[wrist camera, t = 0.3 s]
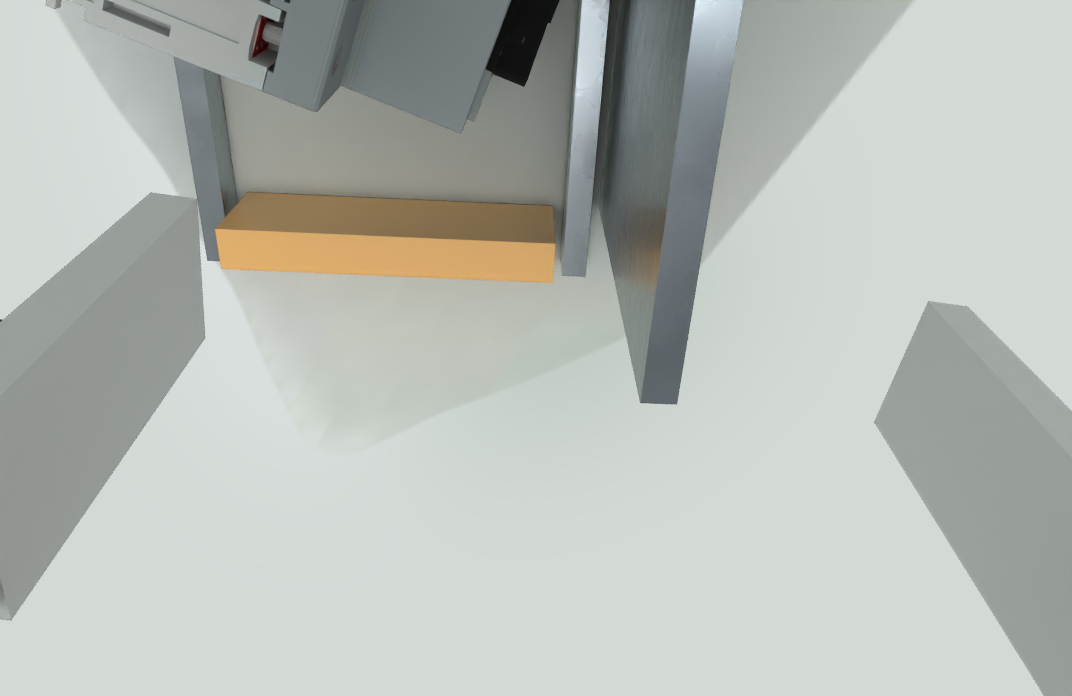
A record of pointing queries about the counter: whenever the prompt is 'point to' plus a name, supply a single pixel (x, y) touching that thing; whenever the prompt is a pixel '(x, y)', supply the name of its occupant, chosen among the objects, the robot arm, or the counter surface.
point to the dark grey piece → (628, 169)
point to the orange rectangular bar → (388, 237)
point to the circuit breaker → (345, 46)
